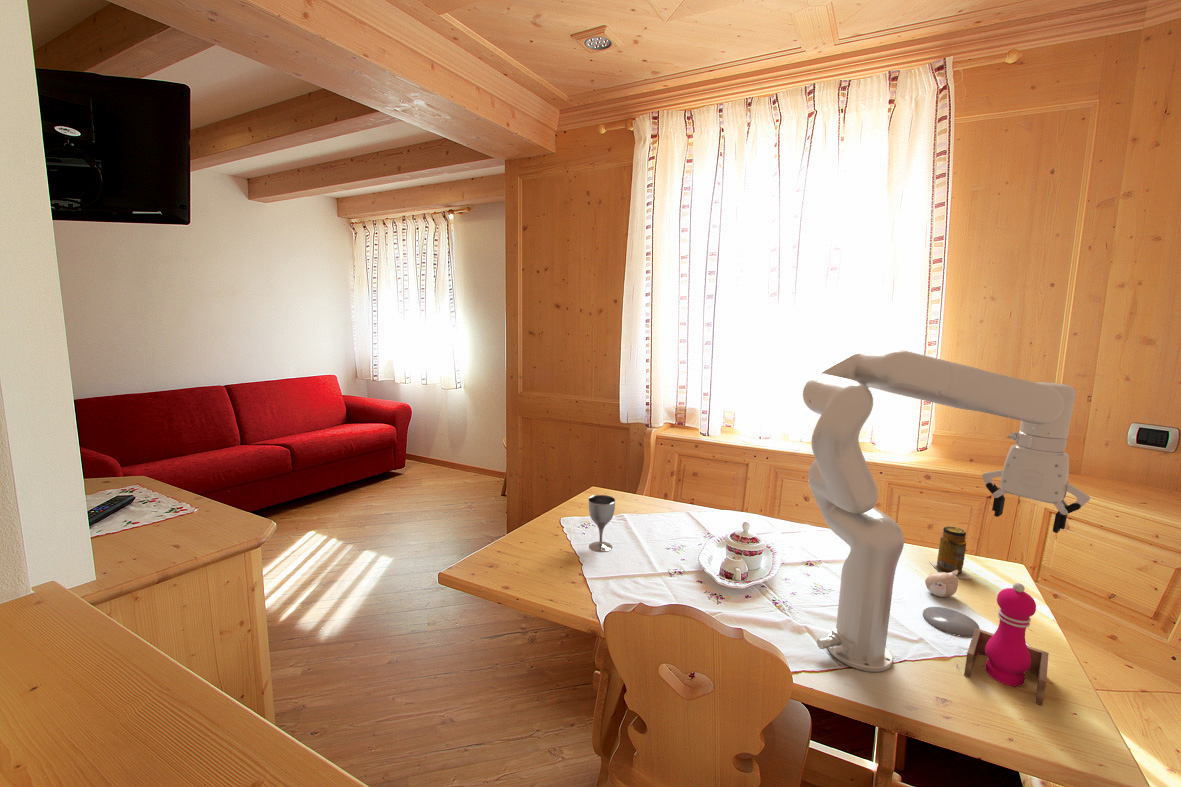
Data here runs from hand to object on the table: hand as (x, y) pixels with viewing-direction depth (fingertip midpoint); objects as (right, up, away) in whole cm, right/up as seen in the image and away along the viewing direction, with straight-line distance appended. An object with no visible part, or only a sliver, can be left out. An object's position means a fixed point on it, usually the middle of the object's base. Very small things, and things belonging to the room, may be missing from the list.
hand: (1026, 522), depth 110 cm
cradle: (-8, -30, -4) cm, 31 cm away
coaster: (-6, -27, +14) cm, 31 cm away
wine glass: (-88, -20, +49) cm, 103 cm away
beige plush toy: (-1, -25, +26) cm, 36 cm away
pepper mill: (-8, -30, -4) cm, 31 cm away
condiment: (+11, -23, +39) cm, 47 cm away
